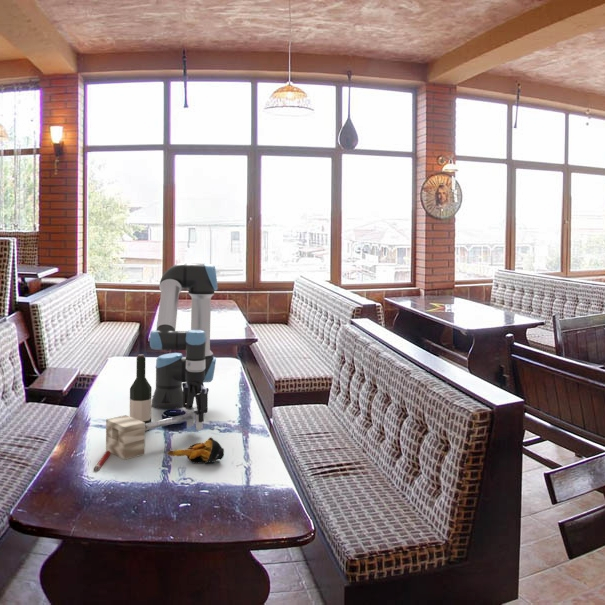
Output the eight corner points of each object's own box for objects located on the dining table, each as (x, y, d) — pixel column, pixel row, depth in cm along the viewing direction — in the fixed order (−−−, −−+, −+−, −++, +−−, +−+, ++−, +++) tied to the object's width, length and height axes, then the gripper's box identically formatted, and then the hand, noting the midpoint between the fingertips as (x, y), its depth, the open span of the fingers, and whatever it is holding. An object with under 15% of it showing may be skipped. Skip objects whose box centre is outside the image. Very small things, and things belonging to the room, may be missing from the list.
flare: (93, 471, 203) (93, 466, 203) (105, 455, 218) (105, 450, 218) (98, 471, 203) (98, 466, 203) (110, 455, 218) (110, 450, 218)
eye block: (106, 450, 222) (106, 419, 221) (127, 445, 228) (127, 414, 227) (124, 459, 214) (124, 427, 213) (146, 453, 220) (146, 422, 219)
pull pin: (140, 432, 228) (140, 419, 227) (195, 418, 247) (195, 406, 246) (148, 435, 225) (148, 422, 224) (203, 421, 244) (204, 409, 243)
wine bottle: (155, 427, 250) (156, 354, 246) (141, 433, 242) (142, 357, 239) (139, 424, 253) (139, 352, 250) (125, 429, 246) (125, 355, 242)
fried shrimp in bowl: (229, 453, 211) (179, 441, 204) (216, 476, 215) (166, 465, 208) (226, 435, 219) (178, 423, 212) (213, 458, 223) (166, 447, 216)
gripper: (173, 367, 244) (172, 424, 247) (202, 375, 232) (201, 435, 235) (188, 364, 250) (188, 420, 253) (218, 372, 238) (217, 431, 241)
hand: (194, 427), depth 244 cm, fingers closed on pull pin, 5 cm apart
